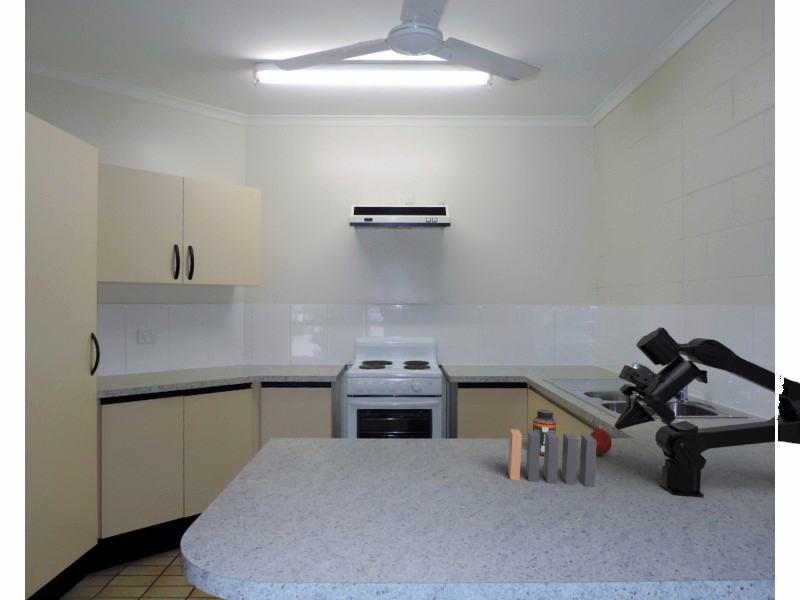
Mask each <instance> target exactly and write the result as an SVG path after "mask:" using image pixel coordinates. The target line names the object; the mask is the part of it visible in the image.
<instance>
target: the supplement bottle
mask: <svg viewBox="0 0 800 600" xmlns="http://www.w3.org/2000/svg"><path fill="white" fill-rule="evenodd" d="M536 412H537V414H536V415H537V416H536V417H534V418H533V421H532V431H537V432H538V434H539V436H540V452H539V456H542V457H544V453H545V432H554V433H555V434H556V435H557V433H556V432H557V421H556V420H555V419H554V412H553V411H552V410H548V409H538V410H537V411H536Z"/></svg>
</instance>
